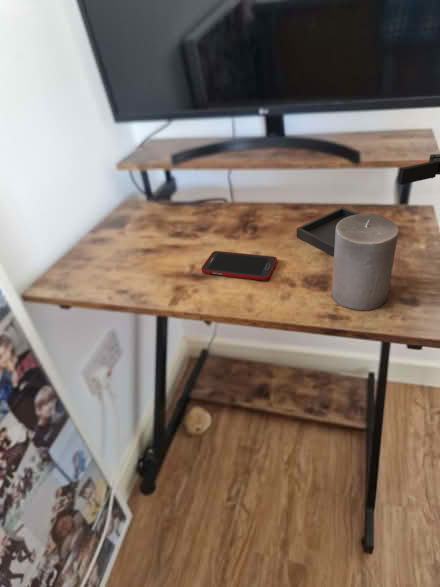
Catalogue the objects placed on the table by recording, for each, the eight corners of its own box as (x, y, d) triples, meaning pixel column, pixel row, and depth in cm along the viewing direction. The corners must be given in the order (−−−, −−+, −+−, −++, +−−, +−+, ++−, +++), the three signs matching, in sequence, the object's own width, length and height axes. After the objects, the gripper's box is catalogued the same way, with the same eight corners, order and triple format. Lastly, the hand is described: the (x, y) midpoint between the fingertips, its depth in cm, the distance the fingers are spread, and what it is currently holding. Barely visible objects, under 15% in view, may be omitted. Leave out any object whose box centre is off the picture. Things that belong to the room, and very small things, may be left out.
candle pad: (392, 237, 87) (394, 227, 85) (344, 262, 81) (345, 253, 80) (342, 215, 97) (342, 206, 96) (296, 237, 92) (296, 228, 90)
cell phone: (268, 282, 79) (268, 278, 78) (200, 273, 84) (199, 269, 84) (278, 260, 84) (278, 256, 84) (213, 254, 90) (213, 250, 89)
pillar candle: (368, 273, 78) (377, 201, 68) (399, 303, 70) (414, 226, 61) (321, 286, 76) (324, 214, 67) (348, 317, 69) (355, 241, 59)
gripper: (609, 218, 58) (477, 250, 56) (481, 162, 78) (380, 185, 76) (635, 167, 54) (492, 200, 51) (493, 122, 73) (385, 144, 71)
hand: (425, 191), depth 63 cm, fingers open, 13 cm apart
